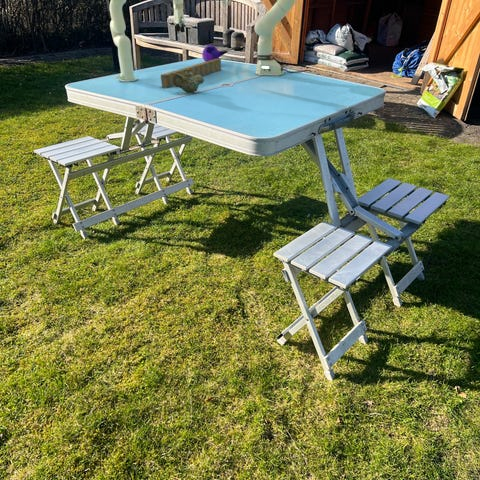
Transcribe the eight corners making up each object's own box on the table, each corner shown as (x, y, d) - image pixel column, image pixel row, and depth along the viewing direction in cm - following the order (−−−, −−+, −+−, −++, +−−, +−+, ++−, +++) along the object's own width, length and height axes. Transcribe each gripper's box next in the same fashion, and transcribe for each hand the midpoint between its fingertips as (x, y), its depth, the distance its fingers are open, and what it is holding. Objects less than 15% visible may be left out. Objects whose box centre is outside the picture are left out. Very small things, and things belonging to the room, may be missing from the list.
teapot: (202, 89, 310) (201, 66, 302) (206, 92, 300) (205, 69, 293) (172, 92, 304) (169, 68, 296) (175, 95, 295) (173, 71, 287)
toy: (212, 67, 383) (203, 66, 406) (231, 60, 386) (220, 59, 410) (206, 48, 375) (197, 48, 399) (225, 41, 378) (215, 41, 402)
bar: (167, 87, 317) (166, 75, 312) (161, 87, 319) (160, 74, 314) (221, 69, 375) (220, 58, 371) (216, 69, 377) (215, 58, 373)
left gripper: (169, 6, 341) (172, 31, 350) (177, 7, 328) (179, 33, 336) (179, 6, 344) (181, 30, 353) (187, 7, 330) (189, 32, 339)
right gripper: (224, -15, 327) (225, 6, 334) (235, -16, 343) (235, 4, 350) (216, -15, 329) (217, 6, 336) (227, -16, 345) (228, 4, 352)
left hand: (180, 31), depth 344 cm, fingers open, 9 cm apart
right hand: (227, 5), depth 343 cm, fingers open, 8 cm apart
